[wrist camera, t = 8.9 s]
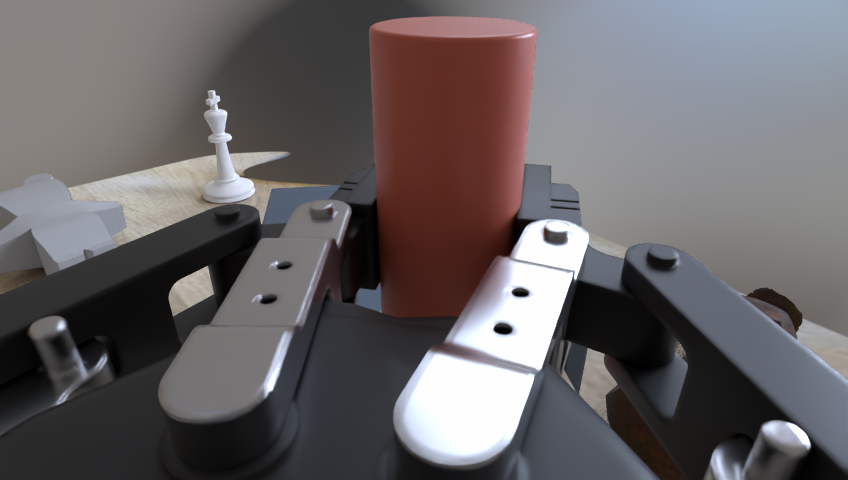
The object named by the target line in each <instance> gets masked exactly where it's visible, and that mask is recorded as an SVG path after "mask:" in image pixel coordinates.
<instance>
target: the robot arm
mask: <svg viewBox="0 0 848 480" xmlns="http://www.w3.org/2000/svg"><path fill="white" fill-rule="evenodd" d="M588 241H589V235H588V233H587V231H586V230H585V229H583V228H582V224H581V214H580V204H579V195H578V192H577V191H576V190H575V189H574V188H573V187H571V185H568V184H556V183H551V166H548V165H535V164H525V165H524V175H523V186H522V196H521V205H520V208H519V209H518V214H517V223H516V234H515V245H514V249H513V251H512V252H511V254H510V256H509V257H505V256H500V255H498V256H496V257H495V259H494V261H493V262H492V264H491V265H490V267H489V269H488V270H487V272H486V274H485V275H484V277H483V279H482V280H481V282H480V283H479V285H478V287H477V288H476V290H475V292H474V293H473V295H472V297H471V298H470V300H469V301H468V303H467V305H466V306H465V308H464V310H463V311H462V313H461V315H460V316H459V317H455V316H435V317H404V318H403V317H394V316H391V315H388V314H385V313H381V312H378V311H375V310H372V309H369V308H365V307H362V306H359V305H358V295H357V292H358V291H359V289H360V288H361V289H370V290H376V289H377V287H378V285H379V283H380V266H379V243H378V220H377V198H376V175H375V163H374V164H373V165H372V167H371V168H370V169H361V170H359V171H357V172H355V173H353V174H351V175H350V176H349V177H348V178H347V179H346V180H345V181H344V183H343V184H342V185H341V186H340V187H339V189H338V190H336V191H335V192H334V194H333V195H332V196H331V197H330V198H329V199H328V200H316V201H311V202H307V203H304V204H302V205H300V206H298V207H297V208H296V209H295V210H294V211H293V213H292V215H291V217H290V218H289V220H288V222H287V223H278V224H261V222H260V216H259V211H258V210H257V209H256V208H255V207H253V206H249V205H244V204H231V205H223V206H219V207H215V208H212V209H210V210H207V211H205V212H202V213H200V214H197V215H195V216H192V217H190V218H188V219H185V220H183V221H180V222H178V223H175V224H173V225H170V226H168V227H165V228H163V229H161V230H158V231H156V232H153V233H151V234H148V235H146V236H143V237H141V238H139V239H136V240H134V241H131V242H129V243H126V244H124V245H121V246H119V247H116V248H114V249H112V250H109V251H107V252H104V253H102V254H99V255H97V256H94V257H92V258H90V259H87V260H85V261H82V262H80V263H77V264H75V265H72V266H70V267H67V268H65V269H63V270H60V271H58V272H55V273H53V274H50V275H48V276H45V277H43V278H41V279H38V280H36V281H33V282H31V283H28V284H26V285H23V286H21V287H18V288H16V289H14V290H11V291H9V292H6V293H4V294H1V295H0V480H660V479H659V478H658V476H657V475H656V474H655V473H654V472H653V471H652V470H651V469H650V468H649V467H648V466H647V465H646V464H645V463H644V462H643V461H642V460H641V459H640V458H639V457H638V456H637V455H636V454H635V453H634V452H633V450H632V449H631V448H630V447H629V446H628V445H627V444H626V443H625V442H624V441H623V440H622V439H621V438H620V437H619V436H618V435H617V434H616V433H615V432H614V431H613V430H612V429H611V428H610V427H609V425H608V424H607V423H606V422H605V421H604V420H603V419H602V418H601V417H600V416H599V415H598V414H597V413H596V412H595V411H594V410H593V409H592V408H591V407H590V406H589V405H588V404H587V403H586V402H585V401H584V399H583V398H582V397H581V396H580V395H579V394H578V393H577V392H576V391H575V390H574V389H573V388H572V387H571V386H570V385H569V384H568V383H567V382H566V381H565V380H564V379H563V378H562V374H563V371H564V367H565V364H566V360H567V356H568V353H569V349H570V346H571V342H572V343H575V344H578V345H581V346H584V347H587V348H590V349H592V350H595V351H598V352H601V353H604V354H605V356H604V364H605V366H606V368H607V370H608V371H609V373H610V374H611V375H612V377H613V378H614V380H615V381H616V382H617V384H618V385H619V387H620V388H621V389H622V391H623V392H624V394H625V395H626V396H627V398H628V399H629V401H630V402H631V403H632V405H633V406H634V408H635V409H636V410H637V412H638V413H639V414H640V416H641V417H642V419H643V420H644V421H645V423H646V424H647V426H648V427H649V428H650V430H651V431H652V433H653V434H654V435H655V437H656V438H657V440H658V441H659V442H660V444H661V445H662V447H663V448H664V449H665V451H666V452H667V454H668V455H669V456H670V458H671V459H672V461H673V462H674V463H675V465H676V466H677V468H678V469H679V470H680V472H681V473H682V475H683V476H684V477H685V479H686V480H848V380H847V379H846V378H844V377H843V376H842V375H841V374H839V373H838V372H837V371H836V370H834V369H833V368H832V367H830V366H829V365H828V364H827V363H825V362H824V361H823V360H822V359H820V358H819V357H818V356H817V355H815V354H814V353H813V352H812V351H810V350H809V349H808V348H807V347H805V346H804V345H803V344H802V343H800V342H799V341H798V340H797V339H795V338H794V337H793V336H792V335H790V334H789V333H788V332H787V331H785V330H784V329H783V328H781V327H780V326H779V325H778V324H776V323H775V322H774V321H773V320H771V319H770V318H769V317H768V316H766V315H765V314H764V313H763V312H761V311H760V310H759V309H758V308H756V307H755V306H754V305H753V304H751V303H750V302H749V301H748V300H746V299H745V298H744V297H743V296H741V295H740V294H739V293H738V292H736V291H735V290H734V289H733V288H731V287H730V286H728V285H727V284H726V283H725V282H724V281H722V280H721V279H720V278H719V277H717V276H716V275H715V274H714V273H712V272H711V271H710V270H709V269H707V268H706V267H705V266H704V265H702V264H701V263H700V262H699V261H697V260H696V259H695V258H694V257H692V256H691V255H689V254H688V253H686V252H684V251H682V250H680V249H677V248H674V247H671V246H667V245H662V244H651V243H647V244H638V245H634V246H632V247H630V248H629V249H627V251H626V254H625V258H624V259H622V258H618V257H614V256H610V255H607V254H604V253H602V252H599V251H597V250H595V249H594V248H592V247H591V246H589V245H588ZM206 266H208V268H209V273H210V277H211V282H212V286H213V291H214V295H212V296H210V297H208V298H207V299H205V300H203V301H201V302H199V303H197V304H196V305H194V306H192V307H190V308H188V309H186V310H185V311H183V312H181V313H179V314H177V315H175V316H174V317H173V315H172V311H171V308H170V304H169V299H168V298H169V292H170V290H171V288H172V286H173V285H174V284H175V283H176V282H177V281H178V280H180V279H182V278H184V277H186V276H188V275H190V274H192V273H194V272H196V271H198V270H200V269H202V268H204V267H206ZM678 342H680V344H681V345H682V347H683V348H684V350H685V353H686V356H687V362H688V364H687V363H686V362H685V361H684V360H683V359H682V358H681V357H680V356H679V355H678V354H677V352H676V349H677V346H678Z"/></svg>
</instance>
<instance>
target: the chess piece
mask: <svg viewBox="0 0 848 480" xmlns="http://www.w3.org/2000/svg"><path fill="white" fill-rule="evenodd" d="M208 95H209V99H207V100H206V104H207V105H210V106H211V109H210V110H208V111H207V112H205V113H204V117H205V119H206V120H207V122H208V124H209V126H210V128H211V130H212V131H213V135H210V136H209V137H208V138H209V139H208V141H209V142H212V143H215V144H216V157H217V176H216V177H215V178H214V181H212V182H210V183H208V184H207V185H205V186H204V188H203V193H204V194H203V198H204V199H205V200H207V201H209V202H213V203H232V202H237V201H241V200H244V199H247V198H249V197H250V196H252V195H253V194H254V193H255V188H254V184H253V182H252V181H251V180H249V179H246V178H241V177H239V175H238V174H235V171H234V168H233V165H232V162H231V159H230V156H229V152H228V149H227V145H226V142H227V141H230V140H231V139H232V137H231V135H230V134H227V133H225V132H224V130H225V123H226V118H227V112H226V111H225V110H222V109H218V106H217V102H219V101H220V97H219V96H216V95H215V91H212V90H210V91H208Z"/></svg>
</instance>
